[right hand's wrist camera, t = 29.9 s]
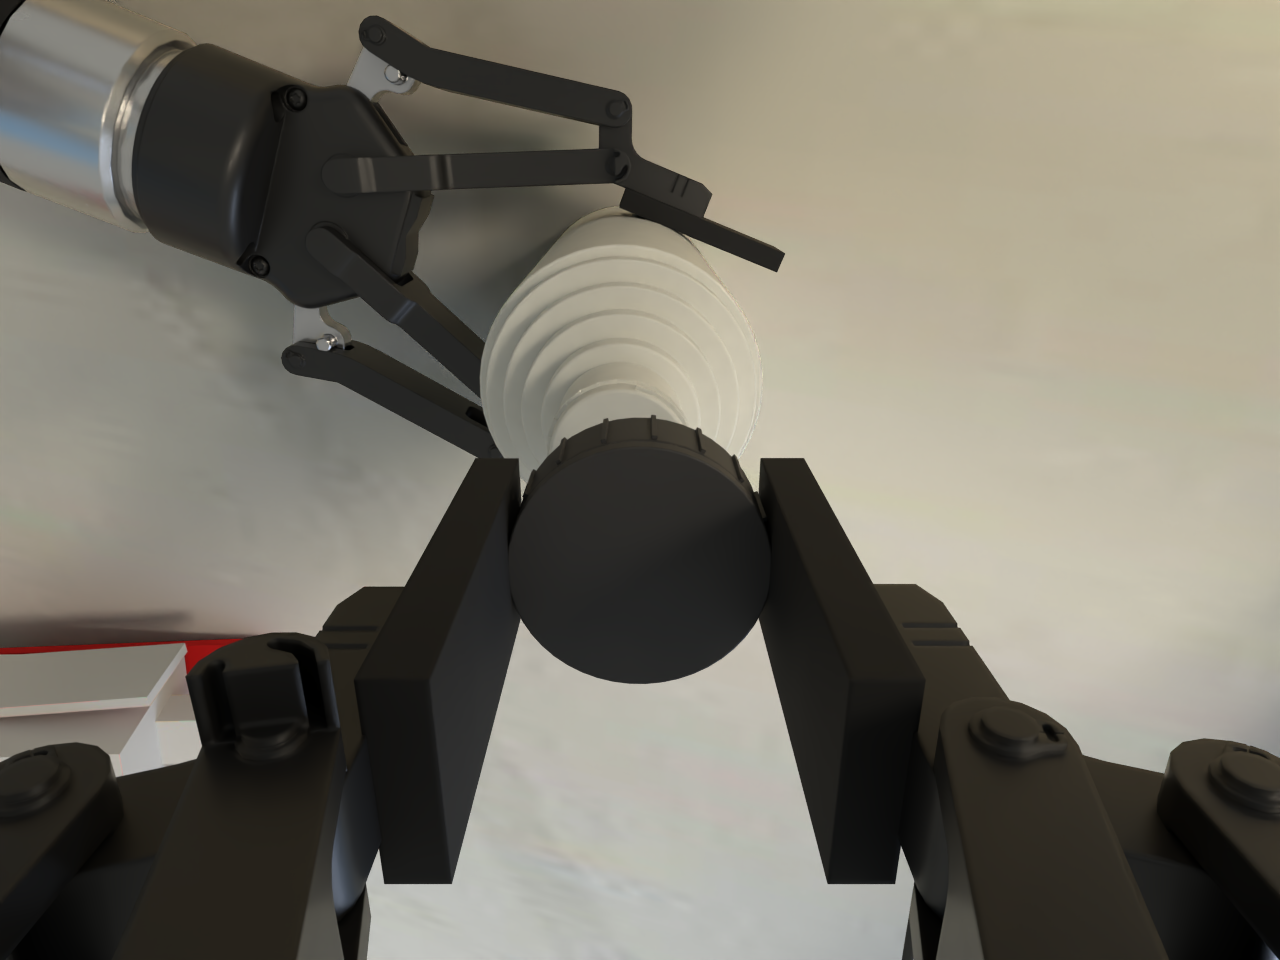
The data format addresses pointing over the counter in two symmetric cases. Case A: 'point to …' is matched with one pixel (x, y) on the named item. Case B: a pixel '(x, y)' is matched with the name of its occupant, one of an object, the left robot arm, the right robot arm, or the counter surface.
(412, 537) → the counter surface
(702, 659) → the cap
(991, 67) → the counter surface
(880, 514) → the counter surface
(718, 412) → the bottle
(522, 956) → the counter surface
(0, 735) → the toy
